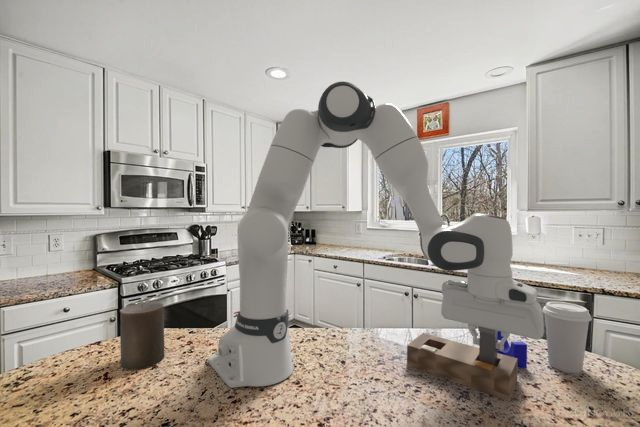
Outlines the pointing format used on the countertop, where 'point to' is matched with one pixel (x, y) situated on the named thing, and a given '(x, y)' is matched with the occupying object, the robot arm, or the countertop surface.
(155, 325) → the pillar candle
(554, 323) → the coffee cup
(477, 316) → the robot arm
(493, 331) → the plug
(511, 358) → the socket block
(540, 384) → the countertop surface
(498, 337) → the cable clip
